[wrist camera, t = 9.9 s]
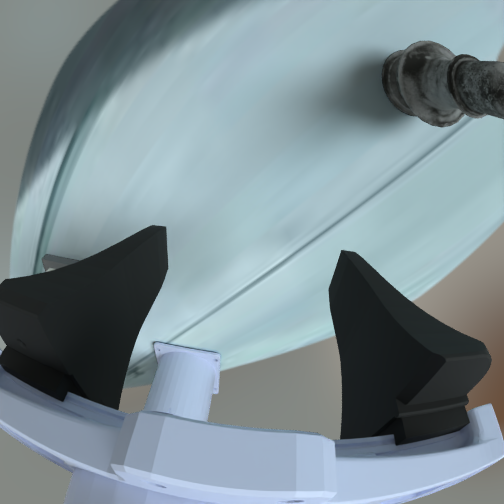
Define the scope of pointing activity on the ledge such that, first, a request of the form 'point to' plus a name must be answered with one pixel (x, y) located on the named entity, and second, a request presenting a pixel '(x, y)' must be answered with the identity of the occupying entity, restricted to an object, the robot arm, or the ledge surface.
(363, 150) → the ledge surface
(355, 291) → the robot arm
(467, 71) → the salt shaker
